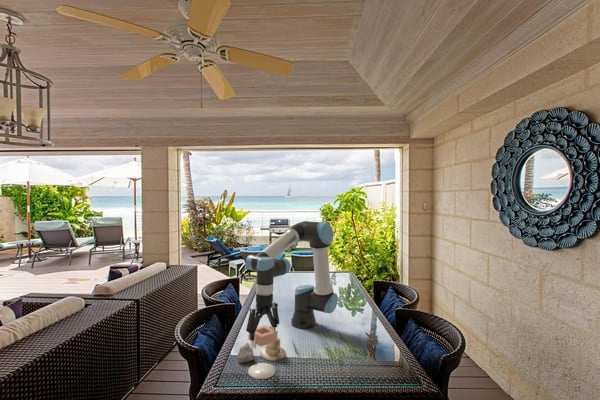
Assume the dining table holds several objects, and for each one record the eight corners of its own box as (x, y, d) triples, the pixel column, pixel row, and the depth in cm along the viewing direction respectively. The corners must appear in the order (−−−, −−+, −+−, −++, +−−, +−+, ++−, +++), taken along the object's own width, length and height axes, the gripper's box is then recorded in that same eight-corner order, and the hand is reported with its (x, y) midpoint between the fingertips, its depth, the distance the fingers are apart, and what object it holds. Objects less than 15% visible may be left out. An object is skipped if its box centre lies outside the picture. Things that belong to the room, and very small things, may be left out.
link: (264, 333, 146) (265, 325, 146) (277, 340, 140) (277, 331, 140) (248, 339, 140) (248, 330, 140) (260, 346, 134) (260, 337, 134)
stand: (274, 346, 164) (275, 321, 164) (289, 355, 155) (290, 328, 155) (255, 353, 156) (256, 327, 156) (270, 363, 147) (271, 335, 147)
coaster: (264, 361, 149) (264, 360, 149) (281, 372, 140) (281, 371, 140) (242, 370, 140) (242, 369, 140) (258, 382, 132) (258, 381, 132)
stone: (237, 364, 145) (237, 351, 145) (236, 354, 155) (237, 342, 155) (255, 363, 147) (255, 350, 147) (253, 353, 157) (253, 341, 157)
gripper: (278, 287, 150) (276, 334, 150) (238, 295, 135) (236, 348, 135) (288, 290, 145) (286, 340, 145) (248, 299, 130) (246, 354, 130)
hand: (262, 344), depth 140 cm, fingers closed on link, 9 cm apart
